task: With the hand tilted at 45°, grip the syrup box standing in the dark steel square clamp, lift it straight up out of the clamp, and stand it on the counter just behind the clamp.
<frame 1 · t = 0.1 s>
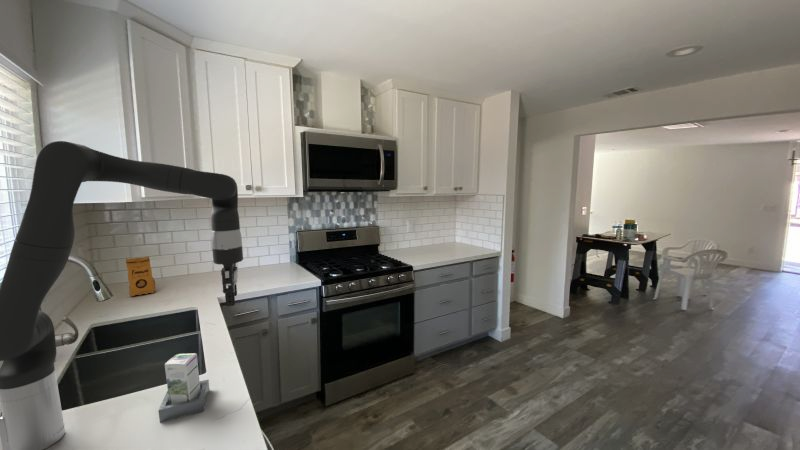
hand: (231, 300, 93), 29 cm above the countertop, tool pointing down, fingers open, 8 cm apart
syrup box: (186, 405, 93), resting in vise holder
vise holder: (186, 405, 93), on the countertop
coffee package: (143, 294, 190), on the countertop
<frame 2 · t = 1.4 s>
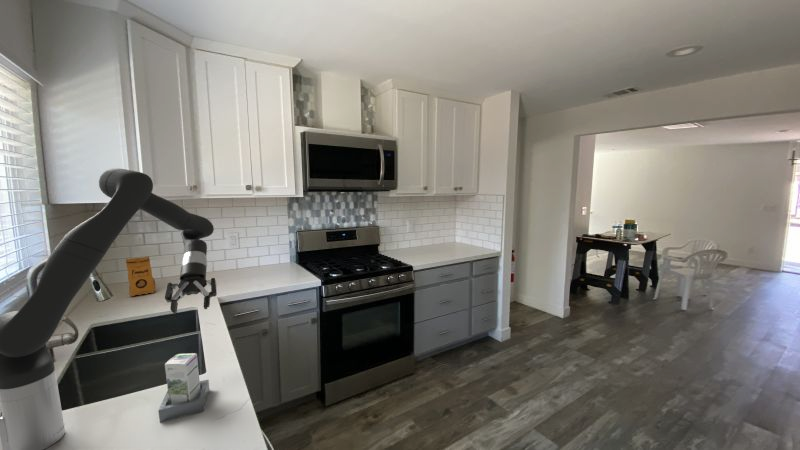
hand: (190, 310, 104), 23 cm above the countertop, tool tilted 45°, fingers open, 8 cm apart
nothing on the countertop moved.
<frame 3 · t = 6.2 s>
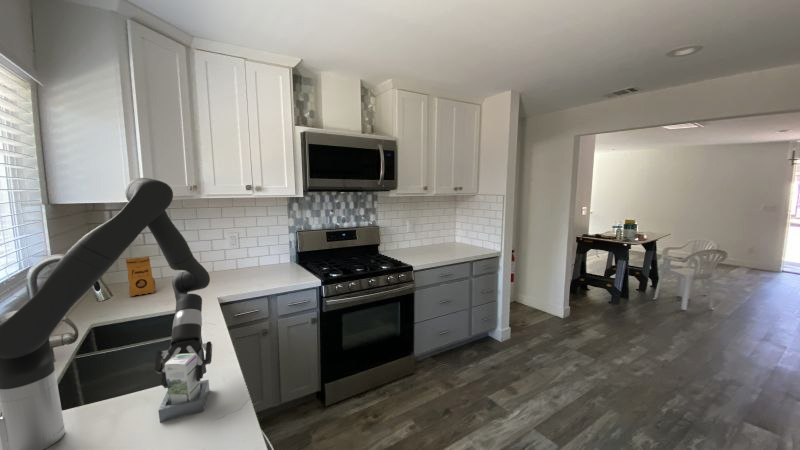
hand: (182, 383, 90), 7 cm above the countertop, tool tilted 45°, fingers closed on syrup box, 7 cm apart
syrup box: (186, 405, 93), resting in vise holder, touching gripper
everything else where it was.
when the fingers open (9 cm above the countertop, at t = 14.8 s): syrup box drops 1 cm, on the countertop.
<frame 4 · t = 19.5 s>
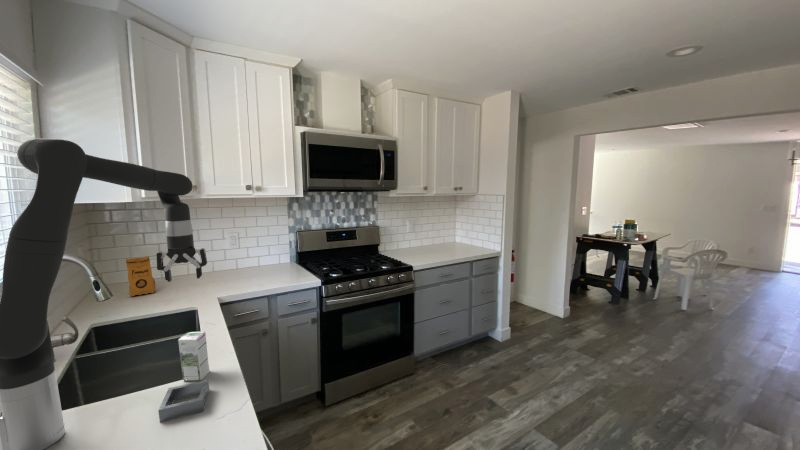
hand: (184, 279, 112), 30 cm above the countertop, tool pointing down, fingers open, 8 cm apart
syrup box: (196, 377, 107), on the countertop
everything else where it was.
at the end: syrup box inside the target area (0.2 cm from its centre), on the countertop; syrup box tilted 0°; syrup box touching countertop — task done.
